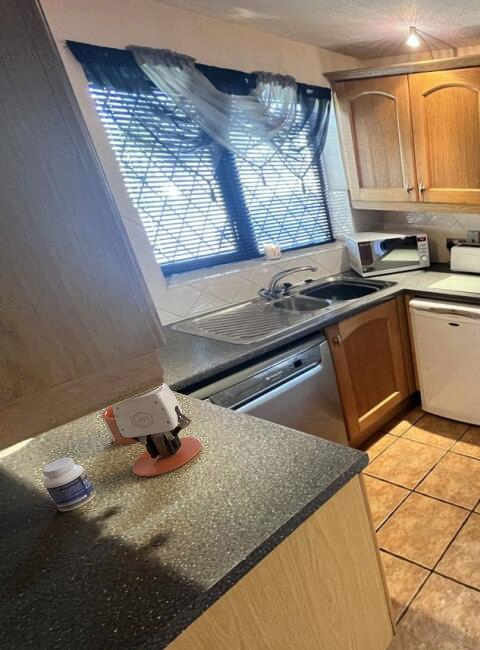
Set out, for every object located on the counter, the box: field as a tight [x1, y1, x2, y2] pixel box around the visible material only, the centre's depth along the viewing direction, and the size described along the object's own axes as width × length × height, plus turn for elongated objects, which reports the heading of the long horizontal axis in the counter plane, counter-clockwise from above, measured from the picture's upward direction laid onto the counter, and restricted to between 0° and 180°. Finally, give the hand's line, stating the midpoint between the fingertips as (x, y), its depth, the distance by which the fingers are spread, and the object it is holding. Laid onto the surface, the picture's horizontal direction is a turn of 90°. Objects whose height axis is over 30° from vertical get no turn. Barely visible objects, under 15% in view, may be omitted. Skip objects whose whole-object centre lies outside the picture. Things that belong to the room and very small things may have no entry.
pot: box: [101, 406, 139, 445], centre depth 99 cm, size 11×11×8 cm
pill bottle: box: [42, 457, 96, 512], centre depth 77 cm, size 5×5×10 cm
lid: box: [131, 432, 202, 477], centre depth 89 cm, size 12×12×7 cm
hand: (166, 452), depth 90 cm, fingers closed on lid, 3 cm apart
